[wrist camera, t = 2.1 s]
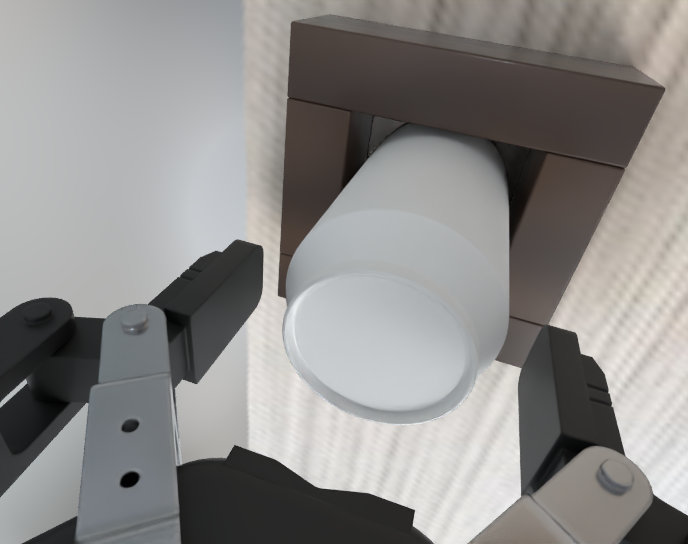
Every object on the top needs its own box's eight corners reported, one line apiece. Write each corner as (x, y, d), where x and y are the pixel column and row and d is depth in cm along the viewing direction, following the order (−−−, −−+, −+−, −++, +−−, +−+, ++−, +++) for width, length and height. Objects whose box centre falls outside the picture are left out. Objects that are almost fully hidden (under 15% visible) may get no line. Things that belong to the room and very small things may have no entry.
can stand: (328, 14, 18) (290, 20, 15) (636, 66, 16) (667, 87, 13) (306, 256, 25) (276, 296, 22) (523, 315, 23) (526, 370, 20)
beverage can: (541, 168, 19) (575, 359, 9) (448, 264, 23) (405, 473, 13) (421, 81, 19) (328, 187, 9) (347, 193, 22) (225, 354, 13)
